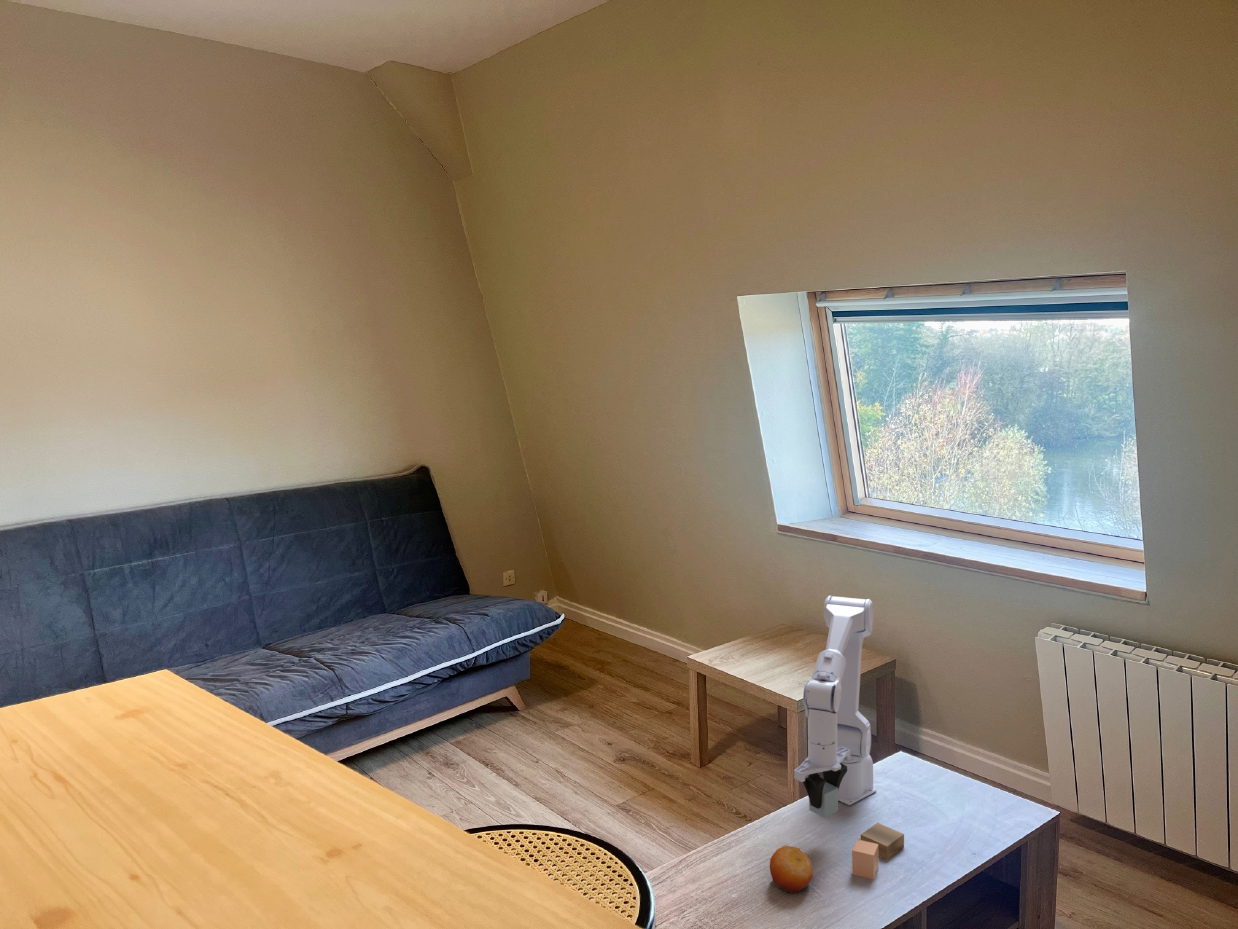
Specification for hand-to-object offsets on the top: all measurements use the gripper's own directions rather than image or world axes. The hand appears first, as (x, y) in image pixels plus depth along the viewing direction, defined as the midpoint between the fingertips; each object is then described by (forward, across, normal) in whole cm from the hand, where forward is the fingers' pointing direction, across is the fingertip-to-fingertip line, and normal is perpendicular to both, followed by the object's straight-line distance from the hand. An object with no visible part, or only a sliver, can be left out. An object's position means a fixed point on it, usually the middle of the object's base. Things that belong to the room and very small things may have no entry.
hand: (823, 802), depth 184 cm
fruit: (+8, -16, -6) cm, 19 cm away
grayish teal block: (+2, 0, 0) cm, 2 cm away
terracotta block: (+8, -2, -12) cm, 15 cm away
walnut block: (+8, +7, -9) cm, 14 cm away
